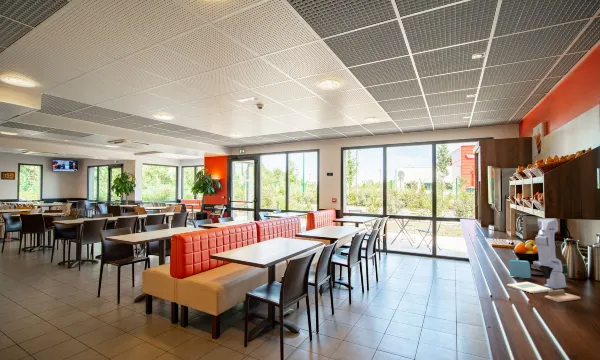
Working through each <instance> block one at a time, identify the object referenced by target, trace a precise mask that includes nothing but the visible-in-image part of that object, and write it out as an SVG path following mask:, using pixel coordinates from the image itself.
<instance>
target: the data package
mask: <svg viewBox="0 0 600 360" xmlns="http://www.w3.org/2000/svg"><path fill="white" fill-rule="evenodd" d="M508 268H509V276H510V277H511V276H515V277H524V278H529V279H530V278H532V277H531V276H532V274H531V273H532V271H531V265H530V262H529V261H528V260H520V259H510V260H509V261H508ZM524 278H523V279H524Z"/></svg>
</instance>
